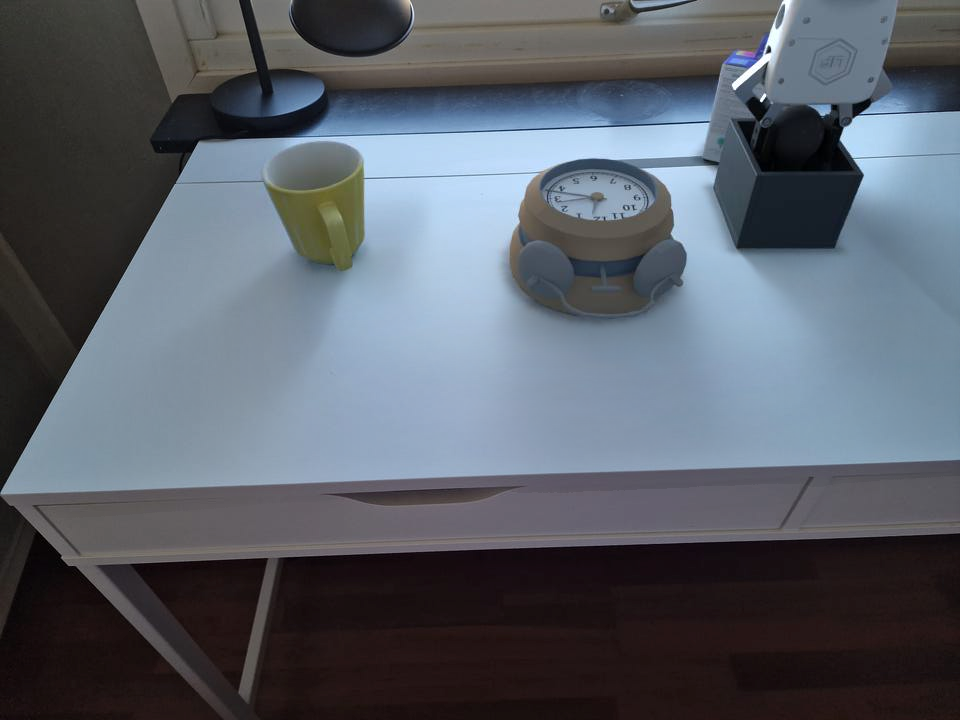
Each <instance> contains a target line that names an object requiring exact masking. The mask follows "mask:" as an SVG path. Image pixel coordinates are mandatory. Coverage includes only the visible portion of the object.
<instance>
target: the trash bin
mask: <svg viewBox="0 0 960 720" xmlns="http://www.w3.org/2000/svg"><path fill="white" fill-rule="evenodd" d="M823 117H824V116H822V118H823ZM756 120H757V119H756V118H736V119H735V118H730V119H729V123H728V127H727V132H726V136H725V140H724V144H723V148H722V153H721V157H720V161H719V162H718V166H717V170H716V174H715V177H714V178H715V179H714V183H713V187H712V188H713V191H714V194H715V197H716V199H717V202H718V204H719V207H720V210H721V212H722V215H723V217H724V220H725V223H726V225H727V228H728V231H729V233H730V235H731V239H732V241H733V244H734V247H735V249H835V248H836V245H837V243H838V241H839V238H840V237H841V233H842V230H843V228H844V225H845V224H846V221H847V219H848V216H849V214H850V211H851V209H852V206H853V204H854V201H855V199H856V196H857V194H858V191H859V189H860V186H861V184H862V181H863V179H864V176H865V174H864V173H863V171H862V169H861V168H860V167H859V165H858V164H857V162H856V161H855V159H854V157H853V156H852V155H851V154H850V152H849V151H848V150H847V149H848V148H846V146H845V145H844V144H843V142H842V141H841V139H840V140H839V143H838V146H837V148H836V150H835V151H834V152H832V154H831V157H830V160H829V162H828V163H822V162H820V161H819V159H818V157H817V156H816V154H815V153H814V154H813V155H812V156H811V157H810V158H809V159H808V160H807V161H806V162H805V164H804V165H803V167H802V169H801V171H800V172H773V170H772V158H771V155H770V153H769V157H768V160H767V162H765V163H764V164H759V163H758V161H757V159H756V157H755V155H754V153H753V152H752V151H751V149H750V143H751V139H752V135H753V131H754V128H755V124H756Z"/></svg>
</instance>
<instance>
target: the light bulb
mask: <svg viewBox="0 0 960 720" xmlns="http://www.w3.org/2000/svg"><path fill="white" fill-rule="evenodd" d="M822 117H823V116H822V115H821V114H820V112H819V111H818V110H817V109H816V108H814V107H812V106H811V105H791V106H788V107H786V108H784V109H782V110H781V112H780V113H779V115H778V116H777V118H776V119H775V121H774V123H773V125H774V126H775V128H776V132H775V136H774V139H773V143H772V146H771V150H770V155H771V158H772V170H773V172H800V171H801V169H802V167H803V165H804V164H805V162H806V161H807V160H808V159H809V158H810V157H811V156H812V155H813V154H814V153H815V152H816V151H817V149H818V148H819V146H820V145H821V143H822V141H823V138H824V134H825V125H824V121H823V118H822Z"/></svg>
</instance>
